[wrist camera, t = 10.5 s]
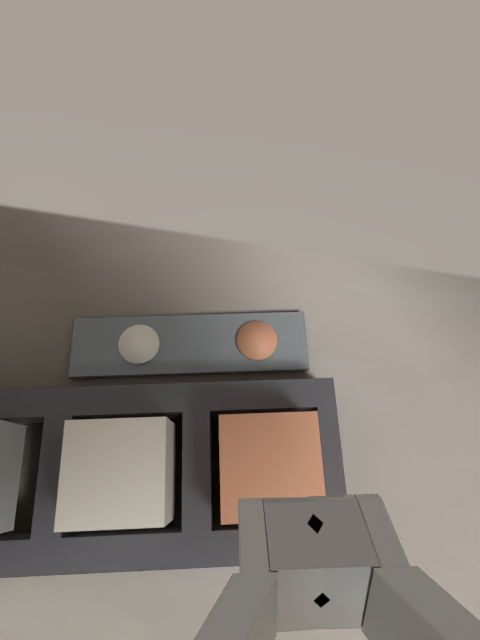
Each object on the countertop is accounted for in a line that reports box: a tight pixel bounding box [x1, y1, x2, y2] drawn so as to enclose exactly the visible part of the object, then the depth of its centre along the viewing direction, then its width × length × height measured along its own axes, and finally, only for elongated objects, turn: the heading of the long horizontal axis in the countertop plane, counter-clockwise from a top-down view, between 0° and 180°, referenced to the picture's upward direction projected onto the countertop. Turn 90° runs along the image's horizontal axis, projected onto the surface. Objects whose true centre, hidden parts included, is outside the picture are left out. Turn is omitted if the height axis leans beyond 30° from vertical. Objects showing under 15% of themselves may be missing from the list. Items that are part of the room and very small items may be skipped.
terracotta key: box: [219, 411, 326, 525], centre depth 21 cm, size 5×5×4 cm
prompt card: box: [68, 312, 309, 378], centre depth 25 cm, size 14×4×1 cm, turn 92°
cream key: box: [54, 417, 176, 532], centre depth 20 cm, size 5×5×4 cm
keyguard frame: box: [0, 378, 347, 578], centre depth 22 cm, size 22×9×2 cm, turn 92°
